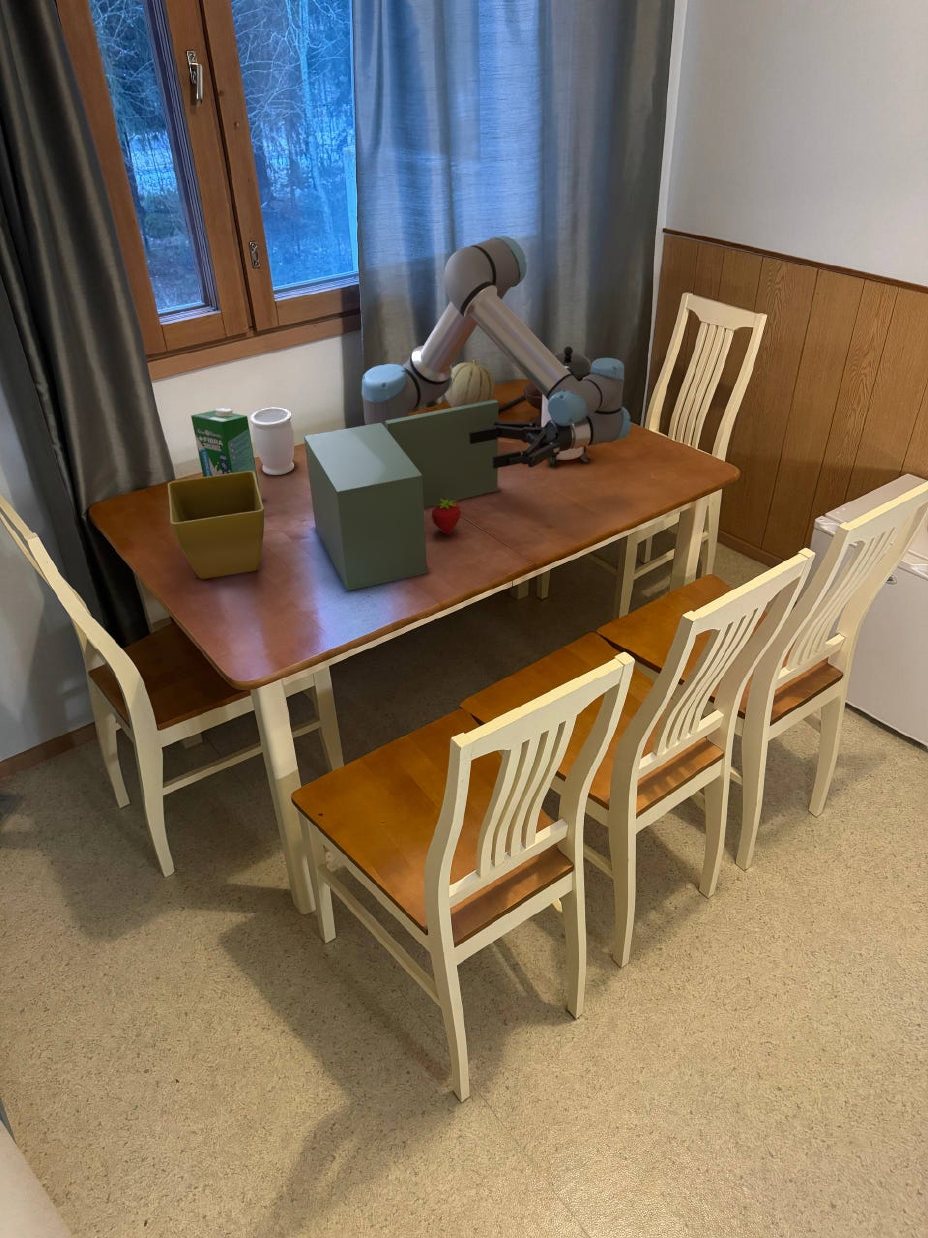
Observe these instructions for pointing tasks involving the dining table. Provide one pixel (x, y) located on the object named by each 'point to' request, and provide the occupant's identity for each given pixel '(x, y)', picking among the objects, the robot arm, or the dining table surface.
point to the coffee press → (580, 370)
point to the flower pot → (218, 522)
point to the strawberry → (446, 515)
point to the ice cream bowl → (534, 400)
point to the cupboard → (367, 505)
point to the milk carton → (223, 442)
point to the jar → (274, 439)
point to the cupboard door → (450, 450)
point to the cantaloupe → (470, 385)
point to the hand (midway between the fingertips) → (481, 449)
